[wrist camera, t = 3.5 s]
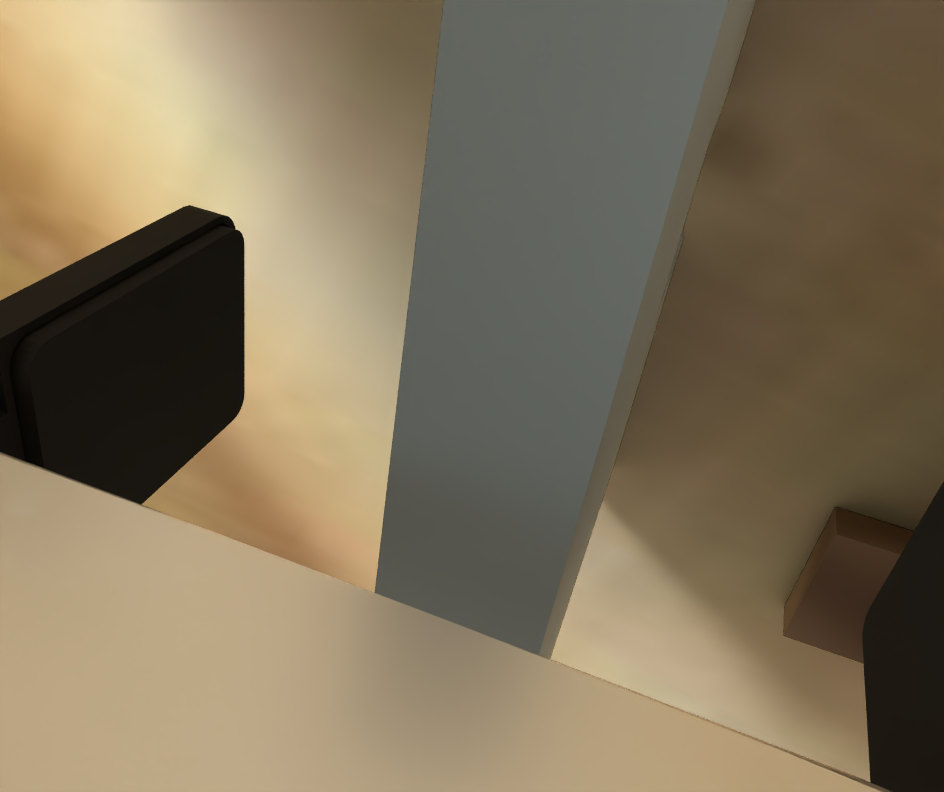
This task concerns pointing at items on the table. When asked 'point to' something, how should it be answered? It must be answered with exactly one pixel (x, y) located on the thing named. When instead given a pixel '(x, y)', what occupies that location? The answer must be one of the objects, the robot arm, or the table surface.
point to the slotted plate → (539, 288)
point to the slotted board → (842, 582)
